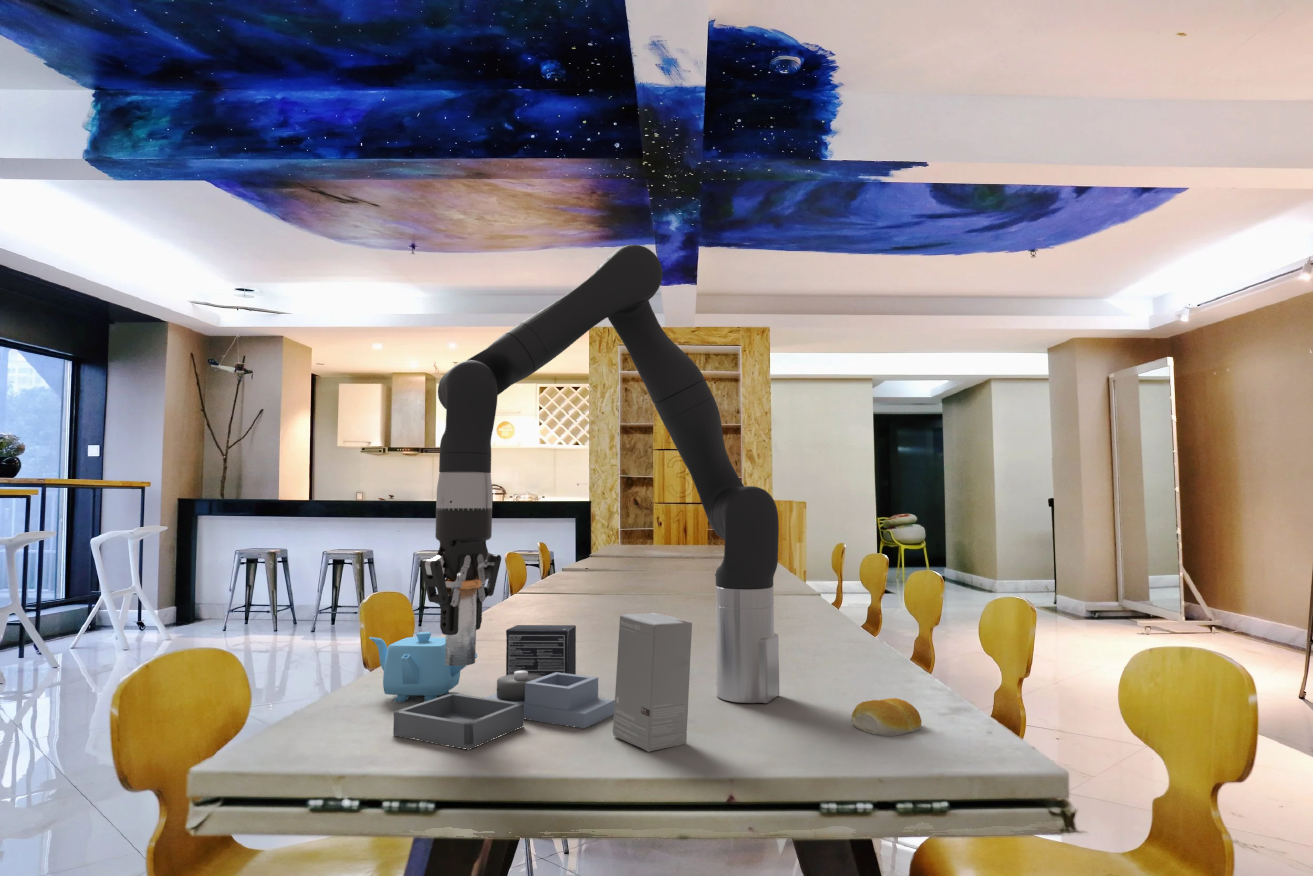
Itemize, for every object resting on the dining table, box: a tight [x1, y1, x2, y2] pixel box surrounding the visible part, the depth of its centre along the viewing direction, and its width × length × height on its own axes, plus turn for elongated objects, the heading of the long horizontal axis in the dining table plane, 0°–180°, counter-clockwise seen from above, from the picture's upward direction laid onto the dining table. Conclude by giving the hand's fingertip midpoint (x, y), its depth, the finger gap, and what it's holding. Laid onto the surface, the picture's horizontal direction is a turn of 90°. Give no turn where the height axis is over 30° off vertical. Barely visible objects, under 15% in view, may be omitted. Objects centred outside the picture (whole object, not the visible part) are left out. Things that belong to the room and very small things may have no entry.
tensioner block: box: [483, 671, 615, 729], centre depth 109 cm, size 18×8×5 cm, turn 62°
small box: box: [505, 624, 577, 676], centre depth 122 cm, size 11×6×10 cm, turn 84°
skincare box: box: [612, 612, 693, 753], centre depth 97 cm, size 8×7×16 cm
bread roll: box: [851, 697, 922, 737], centre depth 102 cm, size 8×9×4 cm
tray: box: [392, 692, 525, 749], centre depth 100 cm, size 13×11×3 cm
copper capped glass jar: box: [445, 579, 482, 666], centre depth 101 cm, size 5×5×11 cm
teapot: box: [368, 631, 478, 703], centre depth 118 cm, size 18×14×10 cm
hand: (461, 631), depth 101 cm, fingers closed on copper capped glass jar, 4 cm apart
